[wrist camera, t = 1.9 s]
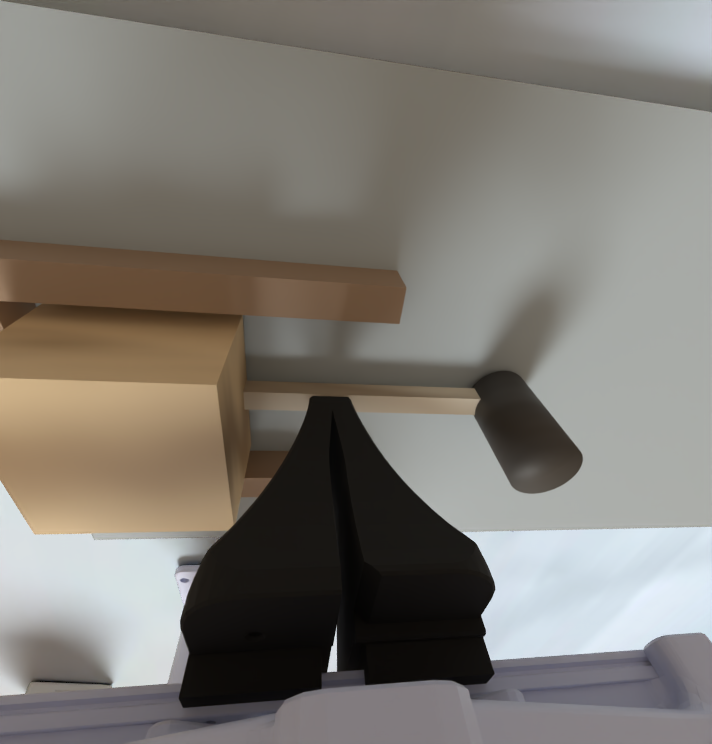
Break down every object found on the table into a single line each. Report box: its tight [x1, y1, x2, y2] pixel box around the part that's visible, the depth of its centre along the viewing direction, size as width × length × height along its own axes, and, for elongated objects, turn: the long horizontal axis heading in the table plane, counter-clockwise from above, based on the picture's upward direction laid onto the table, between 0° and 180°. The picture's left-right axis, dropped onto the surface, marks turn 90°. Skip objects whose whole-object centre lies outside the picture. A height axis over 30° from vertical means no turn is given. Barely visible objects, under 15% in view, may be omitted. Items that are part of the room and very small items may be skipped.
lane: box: [0, 1, 712, 540], centre depth 15 cm, size 20×37×2 cm, turn 84°
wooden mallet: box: [0, 304, 583, 534], centre depth 13 cm, size 6×17×4 cm, turn 84°
